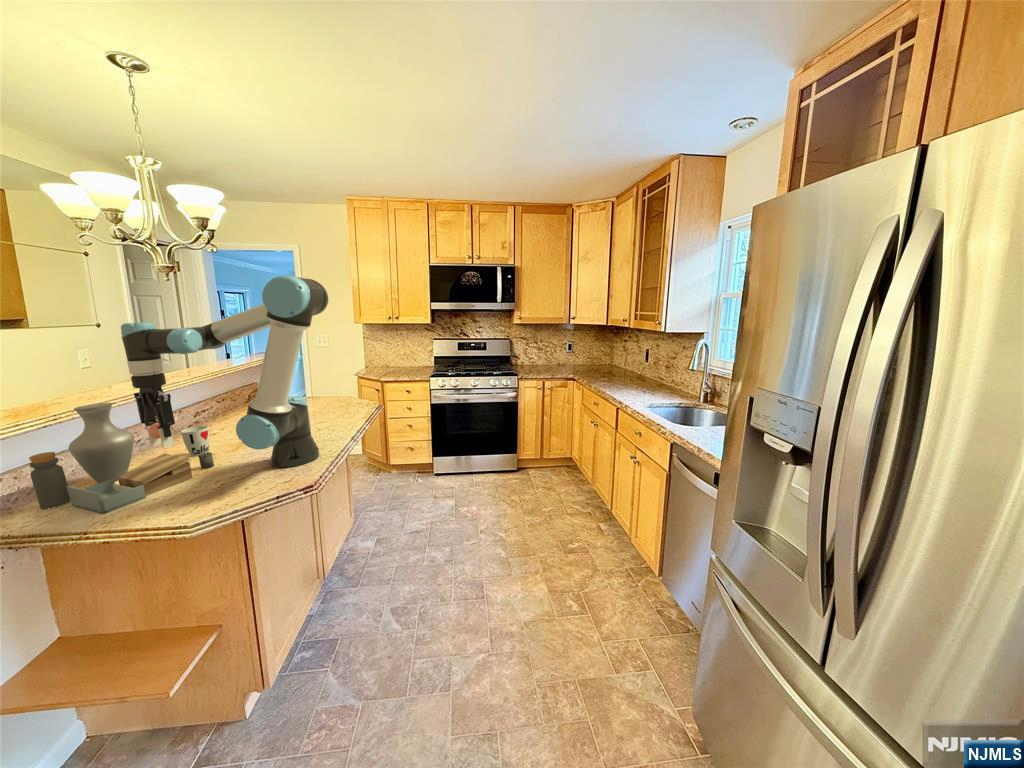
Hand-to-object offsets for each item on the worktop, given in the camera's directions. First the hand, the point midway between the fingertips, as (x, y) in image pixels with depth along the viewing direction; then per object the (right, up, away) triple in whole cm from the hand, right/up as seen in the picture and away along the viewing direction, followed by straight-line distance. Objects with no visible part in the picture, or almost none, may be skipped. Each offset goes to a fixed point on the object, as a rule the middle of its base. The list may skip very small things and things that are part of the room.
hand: (162, 445), depth 121 cm
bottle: (-19, -15, -12) cm, 27 cm away
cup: (-8, -7, +25) cm, 27 cm away
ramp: (0, -12, -1) cm, 12 cm away
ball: (0, +3, -1) cm, 3 cm away
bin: (-4, -14, -12) cm, 19 cm away
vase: (-20, -12, +4) cm, 24 cm away
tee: (+5, -9, +12) cm, 16 cm away
